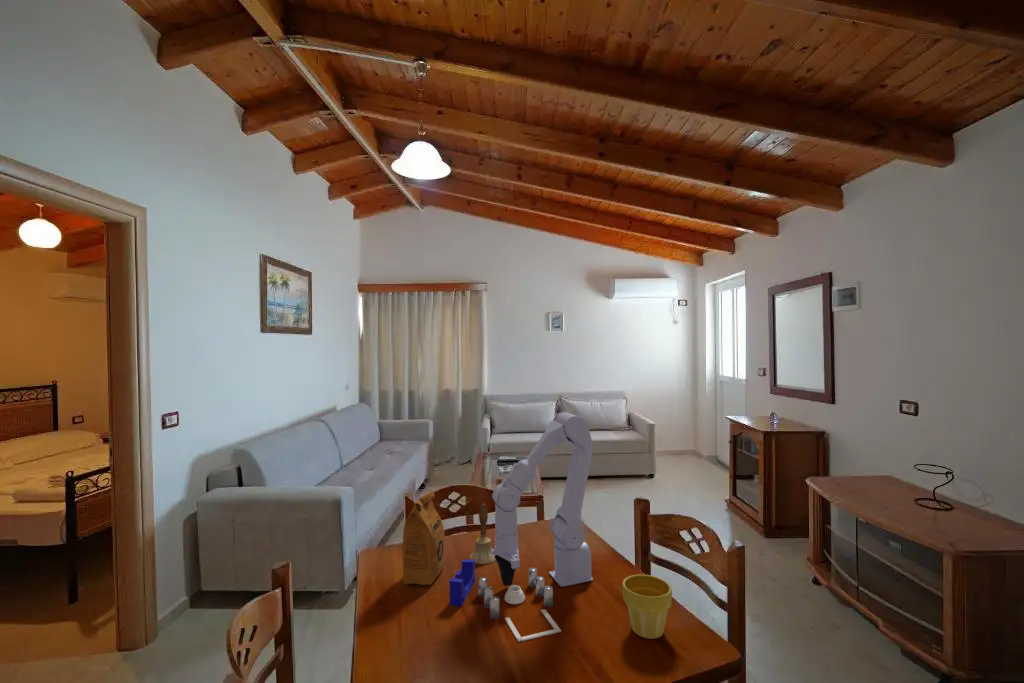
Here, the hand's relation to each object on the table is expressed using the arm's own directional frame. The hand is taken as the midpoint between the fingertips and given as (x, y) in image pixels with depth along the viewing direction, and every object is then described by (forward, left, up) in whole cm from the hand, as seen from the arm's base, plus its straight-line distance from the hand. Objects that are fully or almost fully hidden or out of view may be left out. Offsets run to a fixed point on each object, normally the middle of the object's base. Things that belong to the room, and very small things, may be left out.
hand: (507, 584), depth 122 cm
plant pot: (-23, +28, -1) cm, 36 cm away
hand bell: (+1, -19, -1) cm, 19 cm away
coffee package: (+19, -14, -1) cm, 24 cm away
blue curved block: (+12, -2, -1) cm, 12 cm away
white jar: (0, +6, -1) cm, 6 cm away
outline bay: (0, +17, -1) cm, 17 cm away
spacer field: (0, +6, -1) cm, 6 cm away
